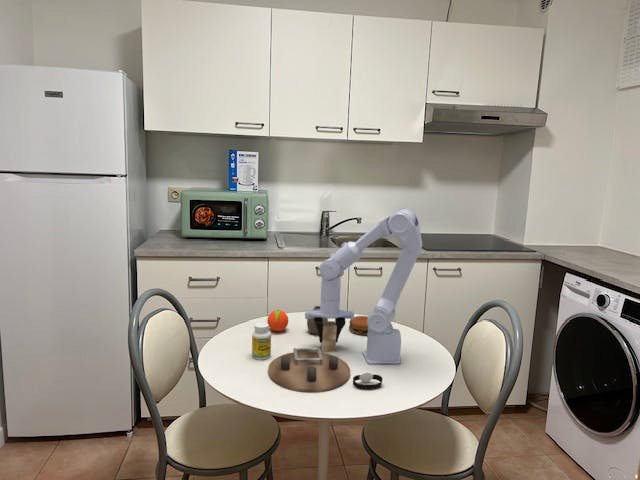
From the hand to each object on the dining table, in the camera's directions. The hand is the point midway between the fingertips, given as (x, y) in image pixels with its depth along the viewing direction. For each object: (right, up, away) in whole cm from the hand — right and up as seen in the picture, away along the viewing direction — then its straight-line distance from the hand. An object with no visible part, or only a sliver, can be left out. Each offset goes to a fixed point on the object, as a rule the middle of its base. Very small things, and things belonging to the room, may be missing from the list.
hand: (328, 341), depth 141 cm
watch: (+10, -7, -21) cm, 24 cm away
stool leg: (0, -2, 0) cm, 2 cm away
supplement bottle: (-19, -3, -7) cm, 21 cm away
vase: (-4, 0, +13) cm, 13 cm away
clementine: (-17, 0, +12) cm, 21 cm away
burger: (+12, 0, +16) cm, 20 cm away
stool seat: (-5, -5, -15) cm, 17 cm away
